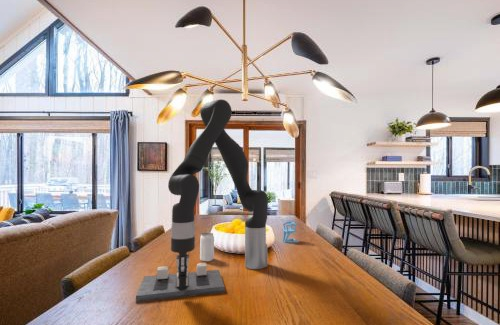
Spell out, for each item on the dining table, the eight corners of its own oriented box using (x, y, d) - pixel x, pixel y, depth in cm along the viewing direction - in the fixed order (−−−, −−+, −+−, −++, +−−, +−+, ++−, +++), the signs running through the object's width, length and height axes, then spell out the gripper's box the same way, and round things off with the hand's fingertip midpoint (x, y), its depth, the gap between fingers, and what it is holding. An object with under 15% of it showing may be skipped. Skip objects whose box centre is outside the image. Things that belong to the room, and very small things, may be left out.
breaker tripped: (187, 282, 89) (187, 271, 89) (187, 285, 87) (187, 273, 87) (176, 283, 88) (177, 272, 88) (176, 286, 86) (176, 274, 86)
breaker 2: (206, 272, 98) (206, 262, 99) (206, 274, 96) (206, 264, 96) (196, 273, 98) (196, 262, 98) (196, 275, 95) (196, 265, 95)
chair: (280, 240, 156) (280, 220, 157) (293, 239, 158) (293, 220, 159) (285, 243, 149) (285, 223, 150) (298, 242, 151) (298, 222, 152)
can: (211, 262, 117) (211, 235, 118) (197, 261, 118) (198, 235, 119) (215, 257, 124) (215, 232, 124) (203, 257, 125) (203, 232, 125)
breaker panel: (218, 274, 102) (218, 269, 102) (224, 292, 87) (224, 285, 87) (143, 281, 96) (144, 275, 96) (135, 302, 80) (135, 295, 80)
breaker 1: (168, 275, 95) (168, 265, 95) (167, 278, 93) (167, 267, 93) (157, 276, 94) (158, 266, 94) (157, 279, 92) (157, 268, 92)
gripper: (195, 239, 78) (195, 297, 77) (194, 230, 91) (193, 280, 90) (169, 241, 76) (169, 300, 75) (172, 231, 89) (171, 282, 88)
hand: (182, 289), depth 83 cm, fingers closed
